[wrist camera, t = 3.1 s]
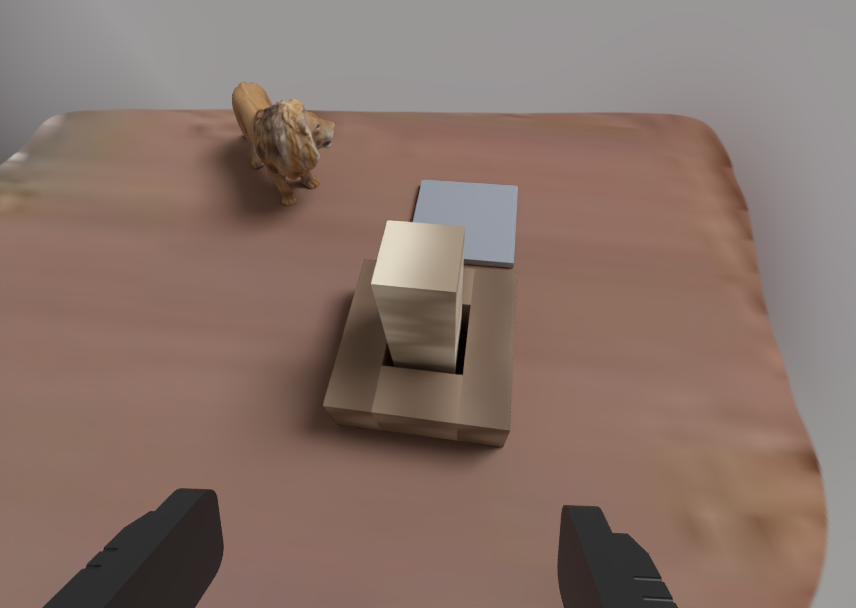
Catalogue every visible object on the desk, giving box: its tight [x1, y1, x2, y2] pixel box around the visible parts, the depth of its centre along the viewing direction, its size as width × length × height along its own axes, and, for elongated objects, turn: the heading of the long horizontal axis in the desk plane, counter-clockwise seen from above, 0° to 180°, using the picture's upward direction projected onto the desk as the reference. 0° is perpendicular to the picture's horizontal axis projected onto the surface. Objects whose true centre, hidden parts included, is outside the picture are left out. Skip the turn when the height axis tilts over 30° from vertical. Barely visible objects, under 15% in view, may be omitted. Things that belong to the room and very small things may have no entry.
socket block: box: [323, 259, 517, 447], centre depth 26 cm, size 10×10×4 cm
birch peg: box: [371, 220, 465, 374], centre depth 23 cm, size 4×4×11 cm
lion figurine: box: [232, 82, 334, 206], centre depth 35 cm, size 15×5×9 cm, turn 43°
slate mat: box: [413, 180, 518, 268], centre depth 34 cm, size 8×8×1 cm
